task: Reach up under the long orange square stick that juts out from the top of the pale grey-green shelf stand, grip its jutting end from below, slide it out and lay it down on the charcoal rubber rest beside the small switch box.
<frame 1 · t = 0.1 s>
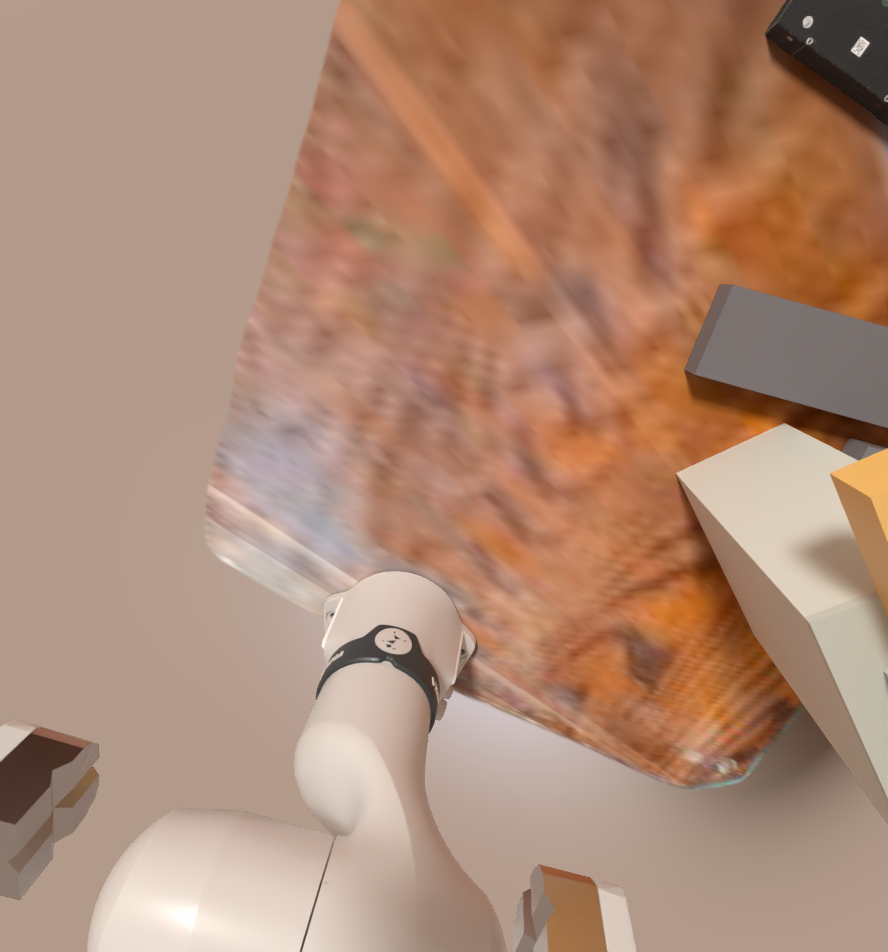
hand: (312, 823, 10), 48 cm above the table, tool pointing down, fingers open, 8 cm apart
rubber rest: (804, 356, 51), on the table
switch box: (852, 480, 54), on the table
disk drive: (880, 24, 43), on the table
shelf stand: (767, 536, 57), on the table
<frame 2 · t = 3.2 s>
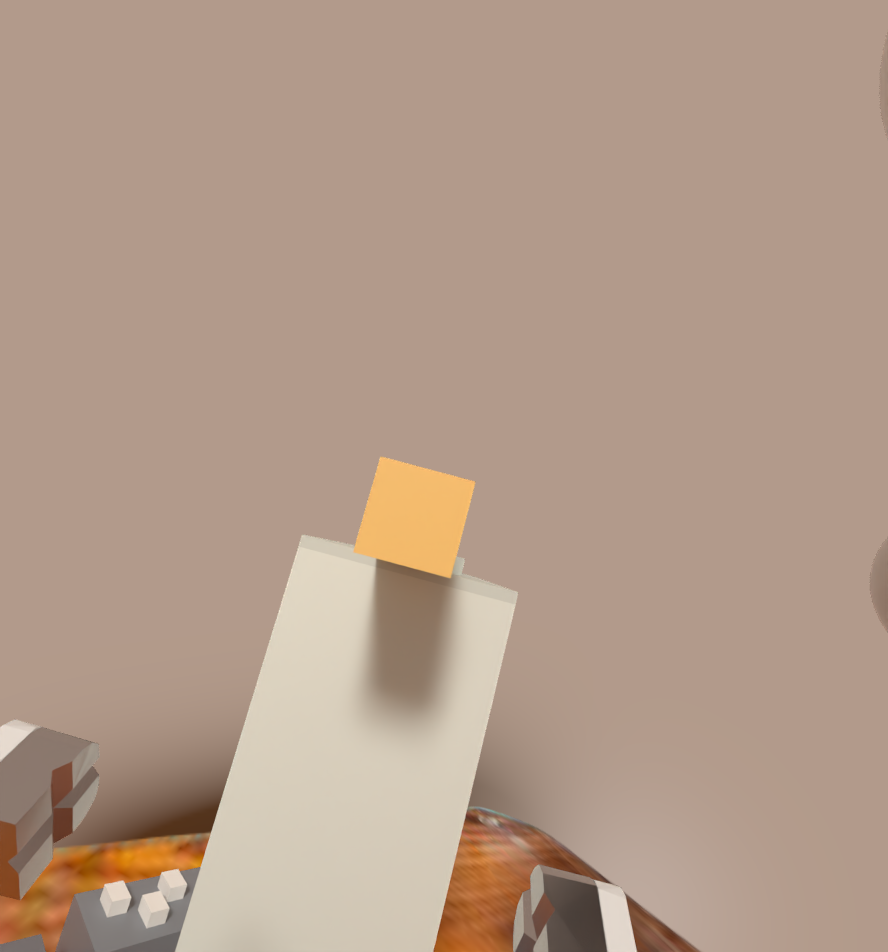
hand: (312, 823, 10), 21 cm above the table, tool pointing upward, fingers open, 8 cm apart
long orange square stick: (411, 563, 28), point 26 cm above the table, touching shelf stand
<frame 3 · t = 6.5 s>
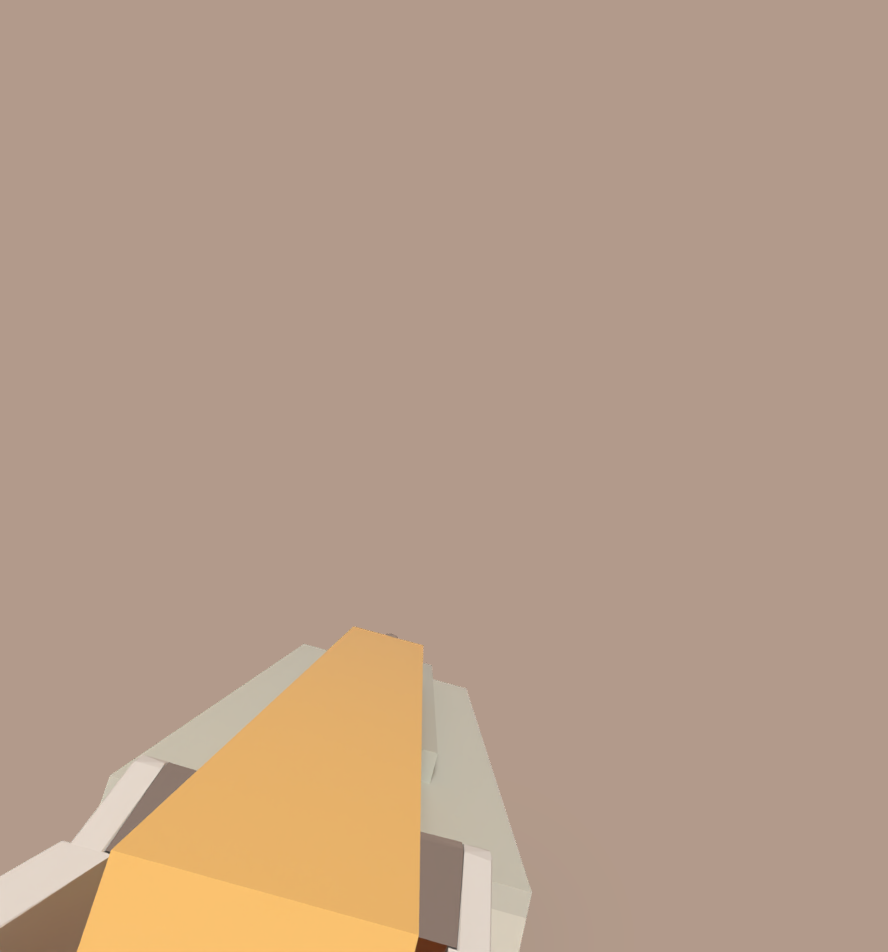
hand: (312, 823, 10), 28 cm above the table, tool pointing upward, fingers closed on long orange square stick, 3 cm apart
long orange square stick: (331, 806, 15), point 26 cm above the table, touching gripper, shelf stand
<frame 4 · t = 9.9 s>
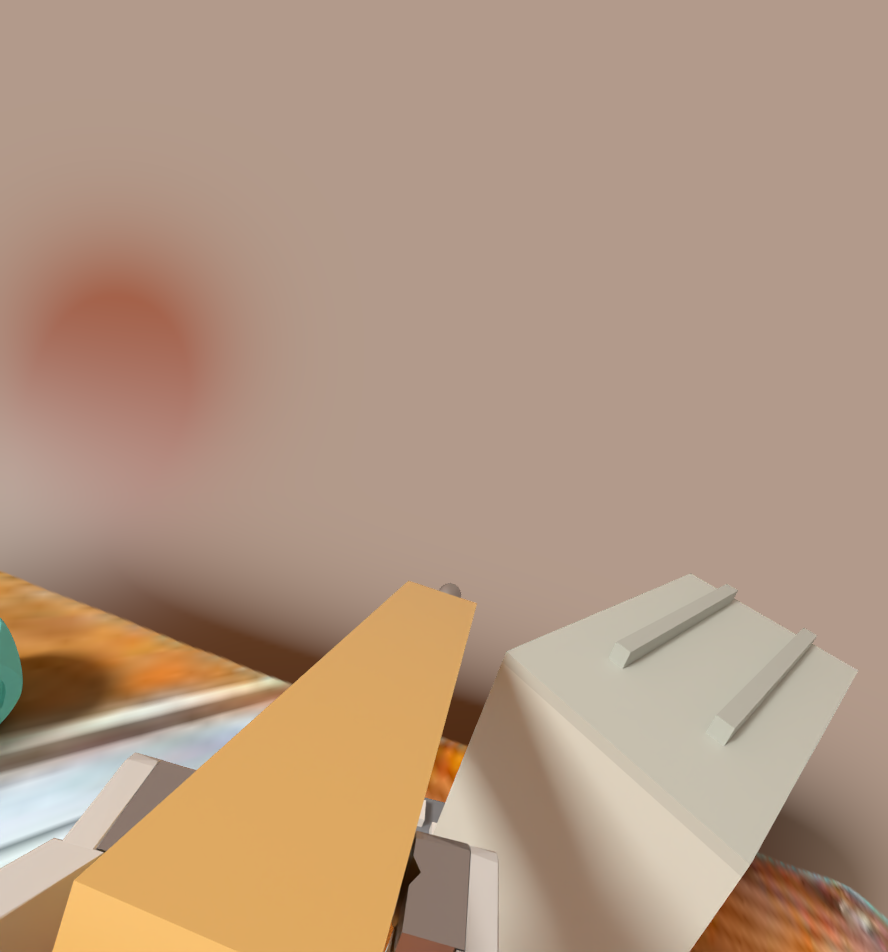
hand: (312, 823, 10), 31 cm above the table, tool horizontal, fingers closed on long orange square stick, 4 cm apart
long orange square stick: (367, 767, 16), point 27 cm above the table, tilted 19°, touching gripper
switch box: (434, 860, 42), on the table
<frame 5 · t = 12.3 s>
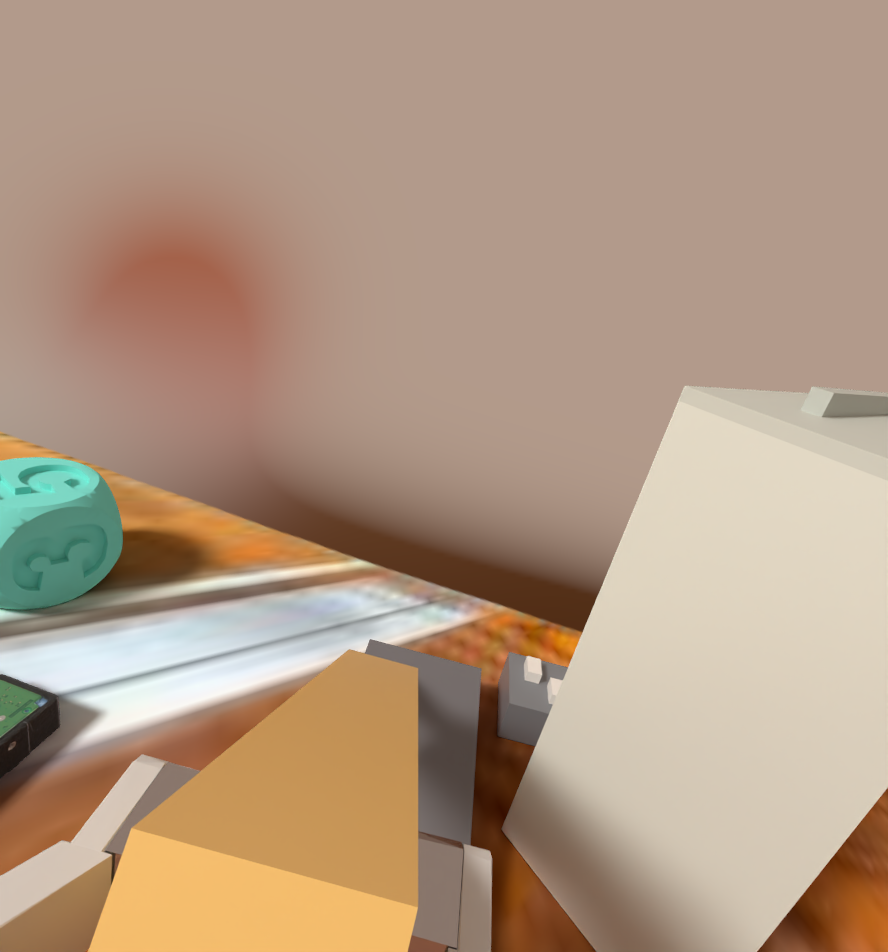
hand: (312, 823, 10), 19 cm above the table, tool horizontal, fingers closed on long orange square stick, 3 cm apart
decorative dice: (40, 579, 40), on the table
rubber rest: (388, 819, 29), on the table
long orange square stick: (327, 823, 15), point 13 cm above the table, tilted 35°, touching gripper
switch box: (552, 722, 39), on the table
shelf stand: (682, 817, 34), on the table
when the fingers open (6 cm above the table, at t = 14.6 s): long orange square stick stays where it is, resting on rubber rest.
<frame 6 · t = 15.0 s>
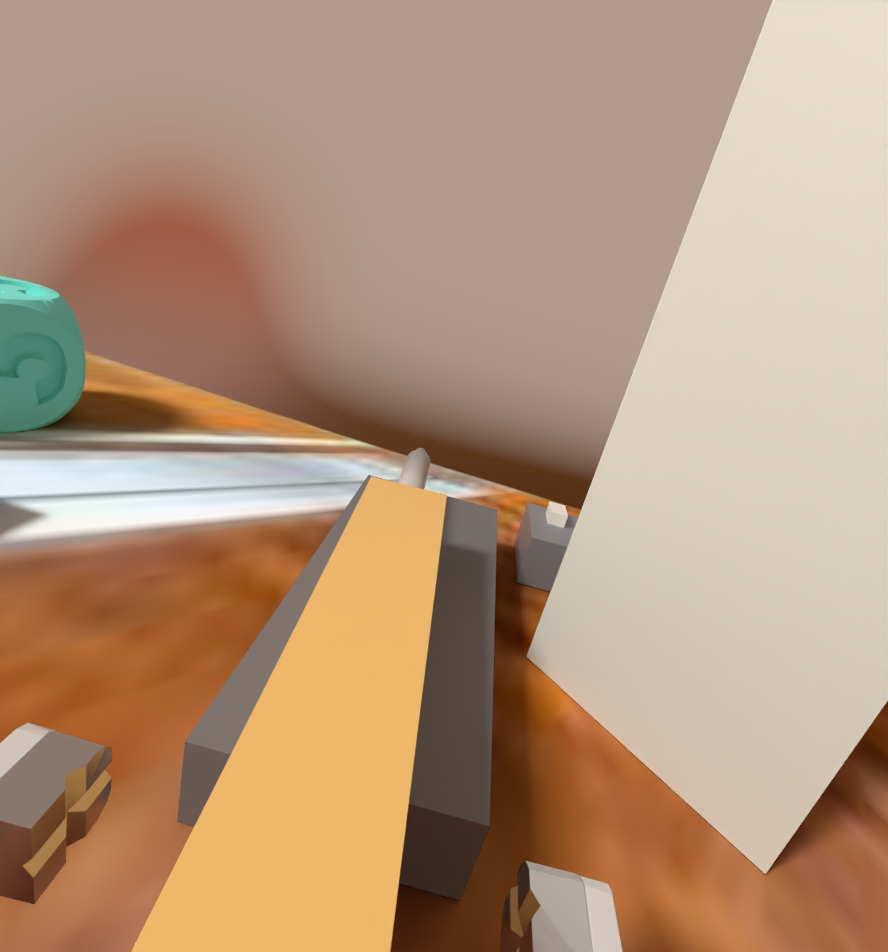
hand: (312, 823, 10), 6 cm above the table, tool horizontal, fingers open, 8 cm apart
rubber rest: (390, 635, 24), on the table
long orange square stick: (343, 721, 15), point 3 cm above the table, touching rubber rest
switch box: (578, 578, 33), on the table
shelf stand: (736, 666, 29), on the table
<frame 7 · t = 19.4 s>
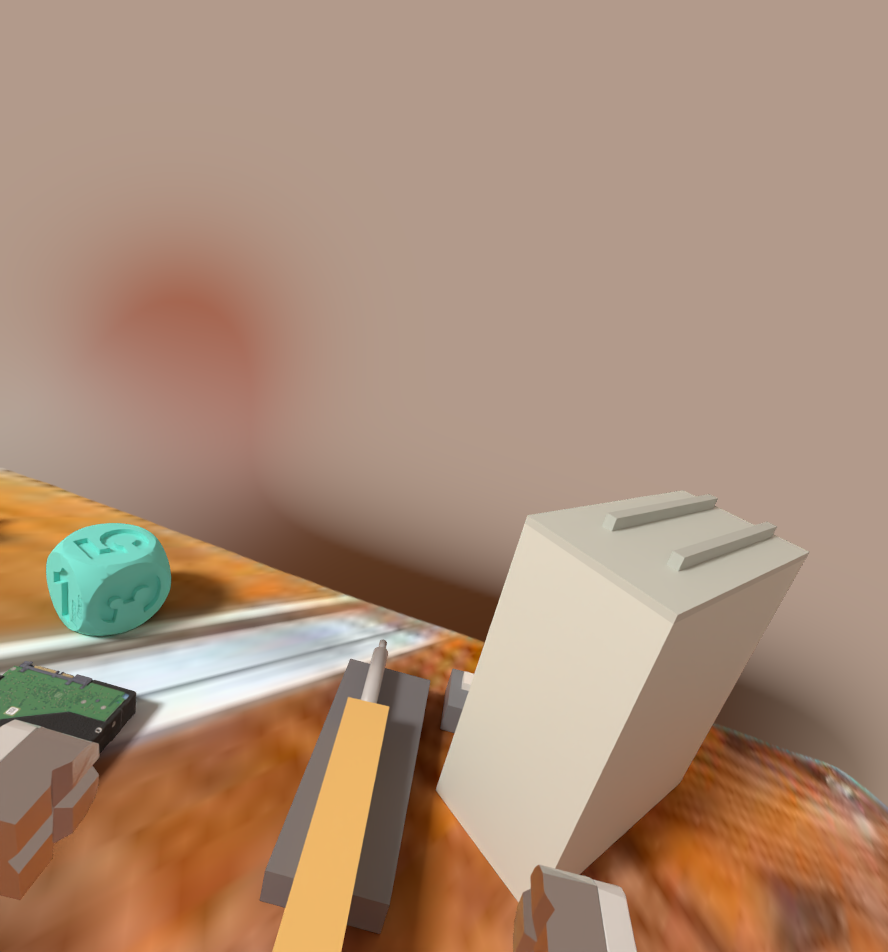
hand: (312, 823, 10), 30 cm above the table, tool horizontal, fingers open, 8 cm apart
decorative dice: (109, 612, 55), on the table
rubber rest: (358, 781, 44), on the table
long orange square stick: (330, 854, 35), point 3 cm above the table, touching rubber rest
switch box: (482, 720, 53), on the table
disk drive: (2, 775, 38), on the table
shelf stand: (566, 786, 48), on the table
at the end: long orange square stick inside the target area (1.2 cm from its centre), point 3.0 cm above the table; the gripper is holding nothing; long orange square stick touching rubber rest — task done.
